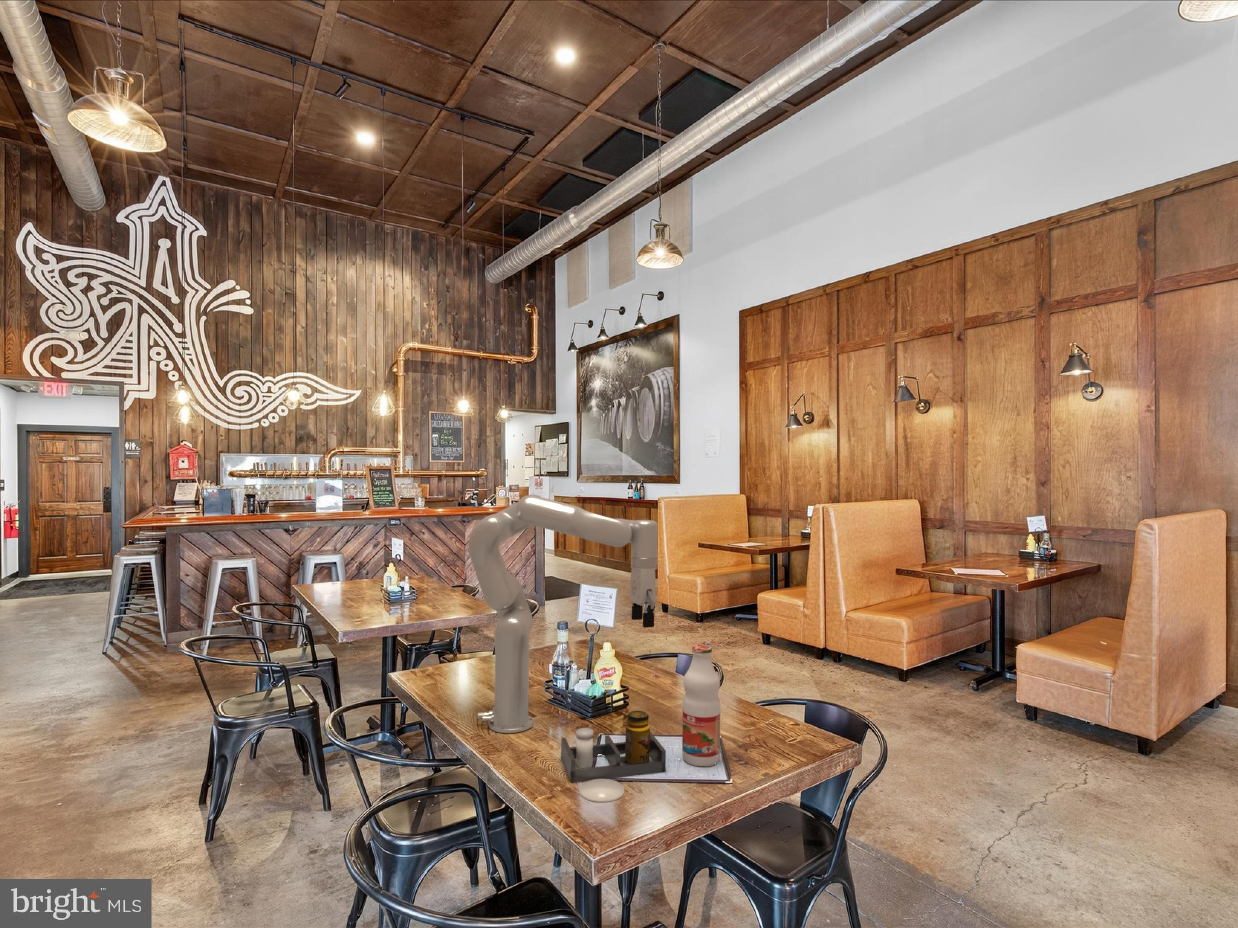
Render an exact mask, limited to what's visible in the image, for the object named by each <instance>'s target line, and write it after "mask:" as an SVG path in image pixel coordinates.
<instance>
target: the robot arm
mask: <svg viewBox="0 0 1238 928" xmlns="http://www.w3.org/2000/svg"><path fill="white" fill-rule="evenodd" d="M533 526H534V527H536V528H540V529H545V530H550V531H553V532H557V533H561V534H565V535H568V536H571V537H575V538H579V539H580V538H581V539H584V540H587V541H590V542H595V543H599V544H602V545H607V546H609V547H610V546H611V547H615V548H621V547H624V546H626V545H628V544H631V545H630V547H631V550H630V551H631V552H630V569H631V572H630V579H629V581H630V582H629V593H628V594H629V595H628V598H629V600H630V601H631V620H633V621H640V620H641V621H642V627H643V628H654V626H655V612H656V610H655V608H656V602H657V599H656V595H657V594H656V592H657V591H656V589H657V587H656V585H657V584H656V582H657V581H656V570H657V569H658V543H659V542H658V540H659V539H658V538H659V536H658V535H659V525H658V522H657V521H655V520H652V519H636V520H634V519H633V520H631V519H626V518H612V517H608V516H604V515H600V514H598V513H597V514H596V513H593V512H590V511H589V510H588V511H587V510H585V509H584V508H582V507H579V506H577V505H573V504H570V503H566V502H562V501H557V500H554V499H549V498H547V497H541V496H540V495H538V494H526V495H524V496H523V497H521V498H520V499H519V500H518V501H516V502H515V503H512V504H511V505H509V506H508V507H505V508H504V509H501V510H500V511H498V512H496V513H493V514H489V515H486V516H485V517H484V518H482V519H481V520H480V521H479V522H478V523H477V524H476V525H475V527H474V528H473V529H472V531H471V533H470V537H469V538H468V539H469V540H468V553H469V558H470V560H471V565H472V566H473V569H474V572H475V575H476V578H477V581H478V584H479V586H480V589H481V592H482V595H483V599H484V601H485V603H486V605H487V606H488V607H489V608H490V609H491V610H494V611H496V613H497V616H498V618H499V619H498V621H497V623H496V626H495V629H494V635H493V636H494V637H493V639H494V656H495V657H494V659H495V660H494V706H492V709H489V710H488V711H478V712H477V720H482V722H488V728H489V729H490V730H492V731H493V732H497V733H501V734H514V733H515V734H517V733H520V732H521V733H522V732H525V731H527V730H529V729H531V728H532V727H533V726H534V722H535V721H534V717H532V716H531V715H529V696H530V695H529V691H530V690H529V689H530V687H529V686H530V681H529V680H530V634H531V632H532V629H533V626H534V625H533V624H534V618H533V616H532V615H533V614H532V611H531V609H530V606H529V603H528V601H527V599H526V596H525V593H524V590H523V588H522V585H521V583H520V581H519V579H518V578H517V577H516V576H515V575H513V574H512V573H509V571H508V569H507V567H506V563H505V561H504V557H503V556H502V554H501V552H500V551H501V550H500V545H501V543H503V542H505V541H507V540H508V539H510V538H513V537H514V536H516V535H518V534H519V533H521V532H524V531H526V530H527V529H529V528H530V527H533Z"/></svg>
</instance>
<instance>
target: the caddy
mask: <svg viewBox="0 0 1238 928" xmlns="http://www.w3.org/2000/svg"><path fill="white" fill-rule="evenodd" d="M560 742H561V743H560V745H561V746H560V749H561V750H560V759H561V762H562V764H563V767H564V769H565V771H566V775H567V777H568V779H569V781H570V783H571V784H572V783H579V782H587V781H590V780H594V779H615V778H616V779H617V778H622V777H623V778H625V777H633V776H640V775H641V776H642V775H650V774H658V773H660V774H661V773H666V771H667V770H666V768H667V767H666V761H667V759H666V758H667V755H666V751H667V750H666V749H665V748H664V747H663V746H662V744H661V743H660V742H659V740H658V739H657V738H656V737H655V736H654V734H653V732H651V731H650V761H646V762H636V763H627V764H620V757H621V755H625V754H624V753H625V742H626V741H623V742H622V741H621V742H614V741H613V740H612V737H611V736H610V735H604V743H602V744H593V758H594V757H595V756H597V755H598V754H602V755H605V756H606V757H605V756H604V757H605V759H606V760H607V762H608V763H609V765H601V766H591V767H589V768H576V748H577V746H572V747H571V746H569V743H568V740H567V739H566V737H561V740H560ZM597 757H598V756H597ZM595 758H596V757H595Z"/></svg>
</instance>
